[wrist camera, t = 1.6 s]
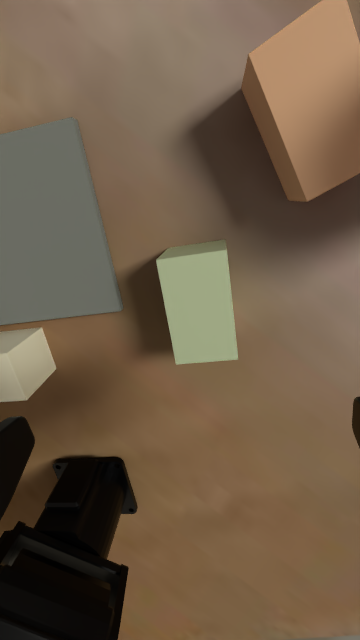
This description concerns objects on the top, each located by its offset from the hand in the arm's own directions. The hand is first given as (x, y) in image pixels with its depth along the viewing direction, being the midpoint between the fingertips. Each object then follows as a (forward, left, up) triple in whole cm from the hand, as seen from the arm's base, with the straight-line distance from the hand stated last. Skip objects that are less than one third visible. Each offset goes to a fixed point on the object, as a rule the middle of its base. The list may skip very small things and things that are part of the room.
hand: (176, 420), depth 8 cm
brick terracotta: (+8, -6, -12) cm, 16 cm away
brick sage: (0, 0, -12) cm, 12 cm away
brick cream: (-3, +15, -12) cm, 19 cm away
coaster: (+5, +11, -12) cm, 17 cm away
